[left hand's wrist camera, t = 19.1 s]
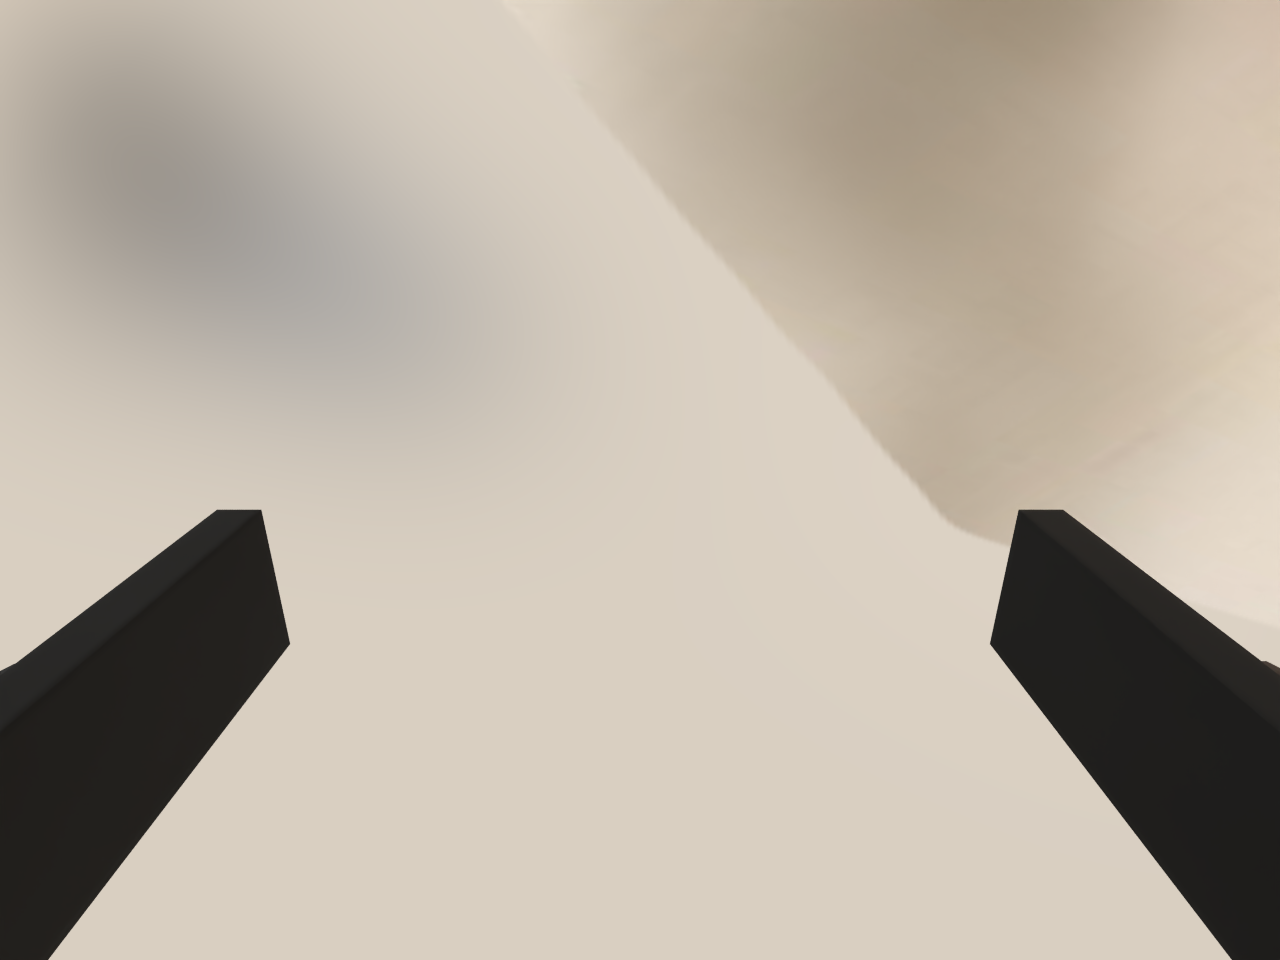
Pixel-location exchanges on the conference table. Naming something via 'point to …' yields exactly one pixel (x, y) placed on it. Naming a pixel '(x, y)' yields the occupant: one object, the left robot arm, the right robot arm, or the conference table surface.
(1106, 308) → the conference table surface
